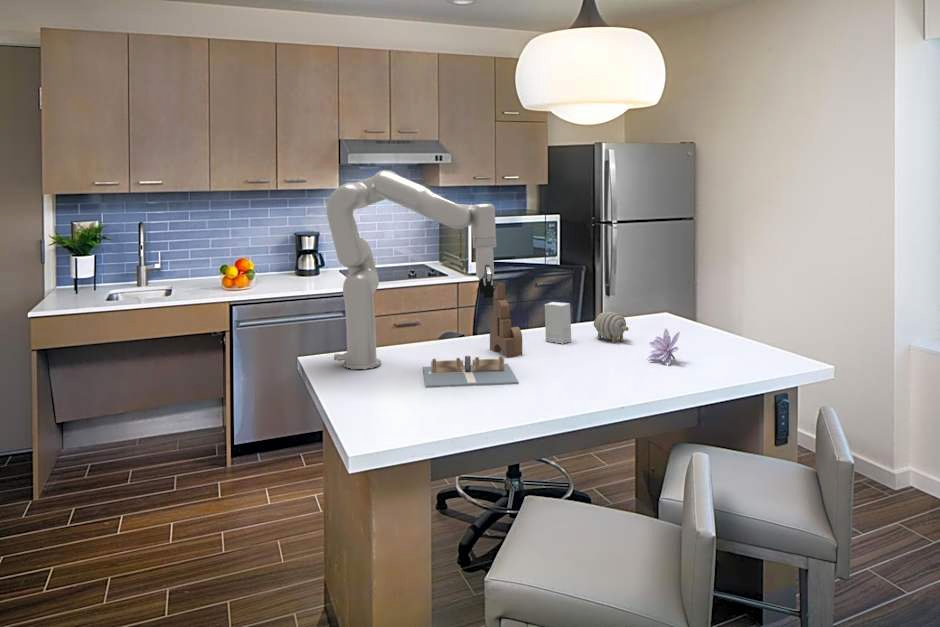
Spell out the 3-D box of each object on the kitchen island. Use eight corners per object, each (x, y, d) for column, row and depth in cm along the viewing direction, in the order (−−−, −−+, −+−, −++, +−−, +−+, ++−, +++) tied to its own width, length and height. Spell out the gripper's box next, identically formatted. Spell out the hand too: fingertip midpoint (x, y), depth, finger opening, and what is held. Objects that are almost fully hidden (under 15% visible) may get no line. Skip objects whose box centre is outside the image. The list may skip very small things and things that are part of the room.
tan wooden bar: (473, 371, 228) (472, 358, 227) (472, 369, 229) (472, 357, 229) (504, 369, 229) (504, 357, 228) (503, 368, 230) (503, 356, 230)
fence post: (465, 374, 228) (465, 357, 227) (464, 372, 230) (464, 356, 229) (471, 374, 228) (470, 357, 227) (470, 372, 230) (470, 355, 229)
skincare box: (571, 342, 271) (572, 303, 268) (562, 344, 267) (562, 305, 264) (553, 338, 277) (553, 300, 274) (544, 341, 272) (544, 302, 269)
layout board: (425, 387, 214) (425, 385, 214) (423, 368, 235) (422, 366, 235) (518, 383, 216) (518, 381, 216) (507, 365, 238) (507, 363, 238)
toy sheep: (602, 335, 282) (603, 307, 280) (637, 342, 269) (638, 313, 267) (584, 339, 276) (585, 310, 274) (619, 346, 263) (620, 316, 261)
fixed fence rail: (462, 370, 229) (462, 357, 228) (463, 371, 228) (462, 358, 227) (431, 371, 228) (431, 358, 227) (431, 372, 227) (431, 359, 226)
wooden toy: (523, 355, 251) (523, 284, 246) (506, 357, 248) (506, 286, 244) (504, 346, 265) (503, 279, 260) (487, 348, 262) (487, 280, 258)
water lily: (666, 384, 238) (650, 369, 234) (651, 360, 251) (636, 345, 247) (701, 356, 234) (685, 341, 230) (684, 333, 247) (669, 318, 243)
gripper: (469, 241, 238) (472, 292, 241) (475, 245, 221) (478, 300, 224) (492, 240, 239) (494, 290, 242) (499, 244, 222) (502, 298, 225)
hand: (486, 295), depth 233 cm, fingers open, 9 cm apart
